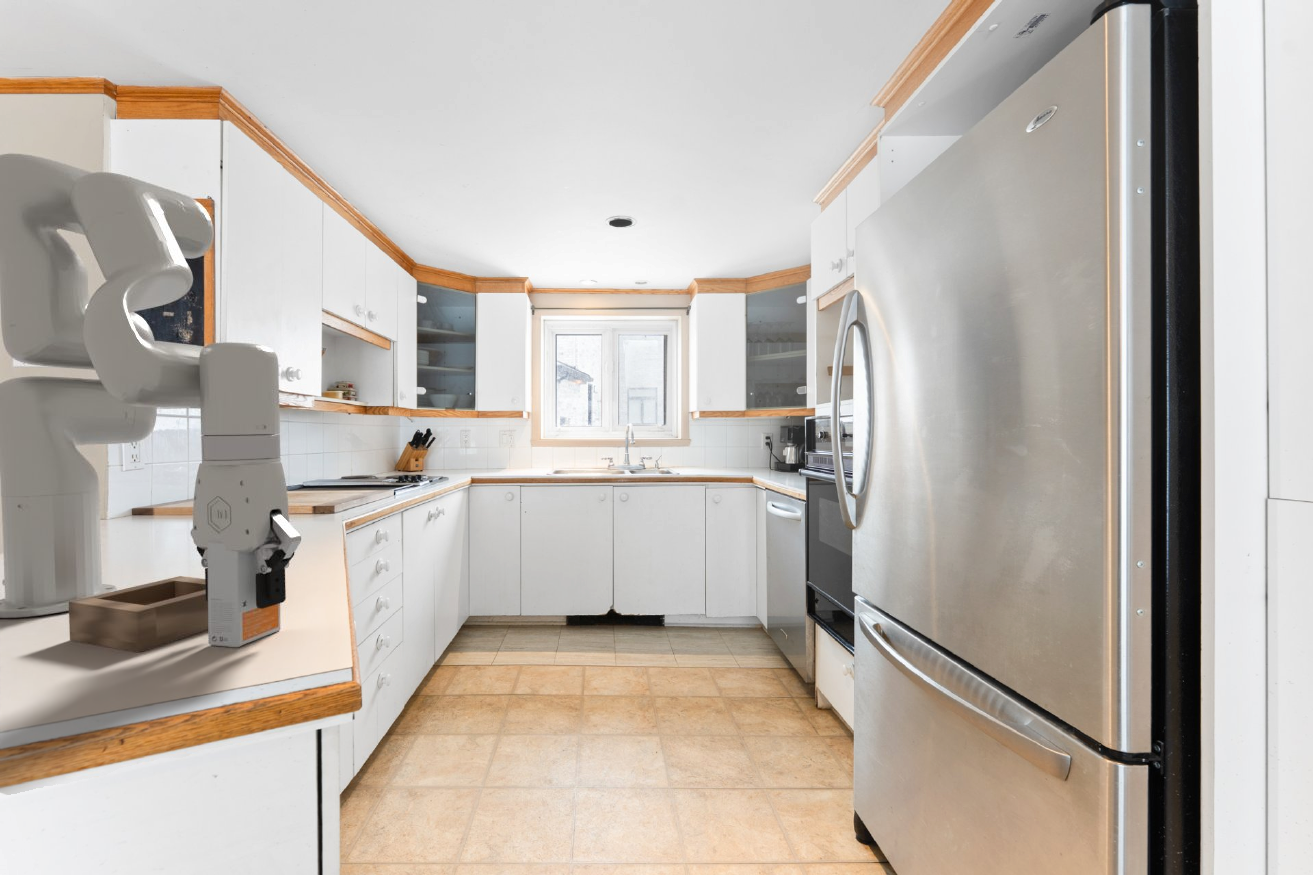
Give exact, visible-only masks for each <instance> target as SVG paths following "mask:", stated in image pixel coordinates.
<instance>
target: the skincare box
mask: <svg viewBox="0 0 1313 875" xmlns="http://www.w3.org/2000/svg"><path fill="white" fill-rule="evenodd" d="M264 544H269V541H265V542H264ZM264 544H263V545H264ZM207 551H208V567H207V568H208V630H207V632H208V633H207V636H208V645H210V646H216V647H218V646H219V647H230V648H240V647H242V646H243V645H244V646H245V645H246V644H249V643H250V642H254V641H256V640H259V639H261V638H264V637H267V636H269V635H272V634H273V633H278V632H279V631H281V603H279V604H276V605H273V606H270V607H267V608H263V609H261V608H257V606H256V574H257V573H261V571H260V569H259V567H258V564H257V562H256V560H255V557H254V555H253V553H252V552H247V553H240V552H237V551H232V550H226V548H225V544H224V543H223V542H220V541H214V540H211V541H208V542H207ZM266 554H267V557H268V559H269V558H270V557H271V556H272V554H273V553H272V551H268V552H266Z"/></svg>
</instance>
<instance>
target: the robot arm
mask: <svg viewBox="0 0 1313 875" xmlns="http://www.w3.org/2000/svg"><path fill="white" fill-rule="evenodd" d="M214 229H215V228H214V224H213V220H212V219H211V216H210V215H209V213H208V212H207V210H206V208H205V207H204V206H203V205H202V204H201V203H200V202H198V201H197V200H196V199H194V198H193V197H191V196H188V195H185V194H183V193H181V192H177V191H175V190H171V189H168V188H165V187H161V186H158V185H155V184H152V183H150V182H146V181H144V180H140V179H138V178H134V177H131V176H127V175H123V174H120V173H114V172H107V171H106V172H105V171H104V172H103V171H98V172H91V171H88V170H85V169H82V168H79V167H77V166H76V167H75V166H74V165H69V164H67V163H64V162H63V163H62V162H60V161H56V160H52V159H48V158H45V157H41V156H36V155H29V154H24V153H12V152H11V153H3V154H0V323H1V324H0V325H1V328H0V329H1V337H2V343H3V345H4V349H5V351H6V352H7V353H8V356H10V357H11V358H13V360H15V361H17V362H20V363H24V364H27V365H33V366H41V367H50V368H62V369H77V370H78V369H79V370H91V371H92V370H93V371H95V372H96V375H97V376H98V379H97V378H96V379H94V378H93V379H92V378H80V377H79V378H78V377H67V376H65V377H64V376H41V375H39V376H34V375H33V376H21V377H20V376H19V377H15V378H10V379H7V380H4V381H3V382H1V383H0V494H1V495H0V496H1V520H2V521H1V522H2V523H1V526H2V548H3V549H2V550H3V552H2V553H3V579H2V585H3V586H4V598H2V599H0V619H3V618H4V619H9V618H12V619H13V618H15V619H16V618H31V617H38V616H39V617H40V616H46V615H52V614H57V613H64V612H69V602H70V601H74V600H78V599H83V598H87V597H91V596H96V595H100V594H105V593H109V592H113V591H118V590H117V589H118V587H117V586H115V585H113V584H108V583H107V584H106V583H103V576H102V574H103V573H102V569H103V568H102V544H101V542H102V539H101V513H100V512H101V510H100V509H101V508H100V506H101V504H100V484H99V483H100V481H99V476H98V472H97V471H96V469H95V467H94V466H93V464H92V463H91V462H90V461H89V460H88V459H87V458H86V457H85V456H84V455H83V454H82V452H80V451H79V450H78V448H77V446H86V445H118V444H131V443H137V442H140V441H143V440H145V439H146V438H147V437H149V436H150V435H151V434H152V433H153V431H154V428H155V425H156V422H157V415H158V413H157V412H158V408H186V409H187V408H189V409H200V435H201V436H200V438H201V439H200V441H201V443H200V444H201V463H199V466H198V469H197V473H196V477H195V478H196V479H195V484H194V493H193V506H192V507H193V509H192V510H193V511H192V529H191V530H190V532H189V533H190V536H191V537H192V541H193V544H194V545H195V546H196V551H197V552H198V553H199V555H200V557H201V560H200V564H201V566H202V567H203V568H204V576H205V577H204V579H205V589H206V601H208V551H207V542H208V541H211V540H214V541H220V542H223V543H224V544H225V548H226V550H232V551H237V552H240V553H247V552H252V553H253V555H254V557H255V560H256V562H257V564H258V567H259V569H260V571H261V573H257V574H256V606H257V608H261V609H263V608H267V607H270V606H273V605H276V604H279V603H280V604H281V603H285V601H286V597H287V596H286V569H288V568H289V566H290V562H291V560H292V559H293V558H294V556H295V553H296V550H297V549H298V547H299V545H300V544H301V542H302V536H301V534H299V533H298V531H297V530H296V529H295V528H294V527H293V526H292V524H290V510H289V509H290V507H289V497H288V489H287V483H286V482H287V481H286V478H285V472H284V471H285V470H284V467H283V462H281V423H280V420H281V419H280V416H281V414H280V385H279V384H280V383H279V382H280V381H279V377H280V375H279V358H278V355H277V353H276V352H275V350H274V349H272V348H270V347H268V346H266V345H263V344H256V343H247V342H213V343H210V344H206V345H205V346H203V345H197V344H188V343H179V342H170V341H162V340H155V337H154V334H153V331H152V329H151V327H150V325H149V324H148V322H147V321H146V320H145V319H144V318H143V317H142V316H141V315H139V314H138V313H136V312H139V311H144V310H147V309H152V308H156V307H160V306H161V307H162V306H164V305H167V304H170V303H174V302H176V301H177V300H180V299H182V297H184V296H185V295H186V294H187V293H189V291H190V290H191V288H192V286H193V282H194V276H193V272H192V270H191V267H190V266H189V264H188V262H187V261H186V259H190V260H191V259H197V258H201V257H202V256H204V255H206V254H207V252H208V251H210V249H211V247H212V245H213V243H214V237H215V236H214V235H215V233H214V231H215V230H214ZM57 230H64V231H66V232H72V233H75V234H79V235H83V236H85V238H86V239H87V243H88V244H89V247H90V248H91V251H92V253H93V255H94V258H95V260H96V262H97V265H98V267H99V269H100V271H101V273H102V275H103V277H104V279H105V281H104V282H103V284H101V285H100V286H99V287H98V288H97V289H96V291H95V292H94V293H93V295H92V296H91V297H90V295H89V273H88V270H87V267H86V265H85V263H84V261H83V260H82V259H81V257H80V255H79V254H78V253H77V251H76V249H74V248H73V247H72V245H70V243H69V242H68V241H67V240H66V239H65V238H64V237H63V236H62V235H61V234H60V233H59V232H58V231H57ZM265 541H269V544H264V542H265ZM263 544H264V545H263ZM268 551H272V553H273V554H272V556H271V557H270V558H269V559H268V557H267V554H266V552H268Z"/></svg>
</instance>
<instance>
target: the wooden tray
mask: <svg viewBox="0 0 1313 875" xmlns="http://www.w3.org/2000/svg"><path fill="white" fill-rule="evenodd" d="M68 621H69V622H68V623H69V627H68V628H69V641H72V642H73V641H74V642H79V643H83V644H84V643H85V644H90V645H94V646H101V647H105V648H111V649H112V648H113V649H118V650H123V651H129V652H135V653H141V652H144V651H148V650H150V649H153V648H156V647H159V646H160V647H161V646H163V645H166V644H170V643H173V642H175V641H176V642H177V641H178V639H179V640H182V639H185V638H188V637H190V636H194V635H197V634H201V633H204V632H208V601H206V589H205V578H199V577H189V576H181V575H179V576H175V577H170V578H165V579H162V580H157V581H154V582H153V581H152V582H149V583H145V584H141V585H140V584H139V585H134V586H132V587H127V588H123V589H118V590H117V591H113V592H109V593H105V594H100V595H96V596H91V597H87V598H83V599H78V600H74V601H70V602H69V611H68ZM172 641H173V642H172Z"/></svg>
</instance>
